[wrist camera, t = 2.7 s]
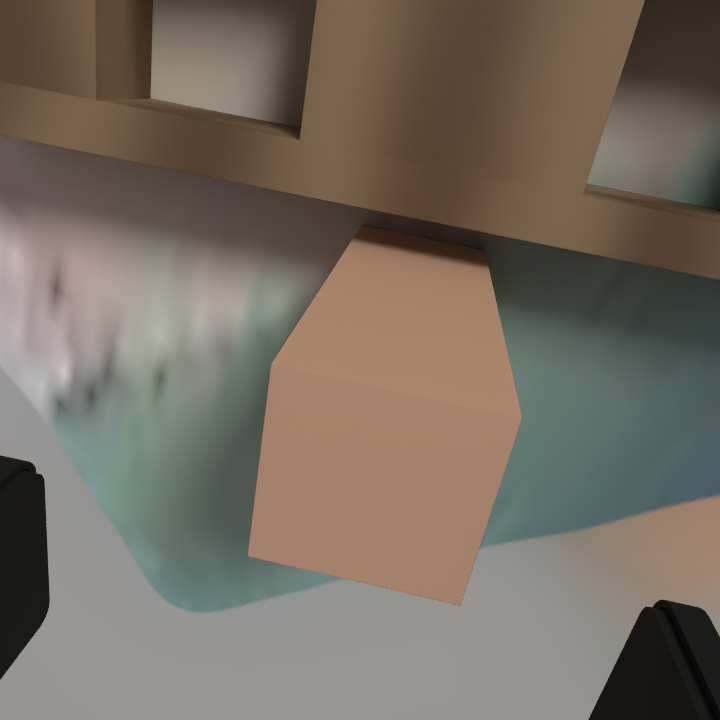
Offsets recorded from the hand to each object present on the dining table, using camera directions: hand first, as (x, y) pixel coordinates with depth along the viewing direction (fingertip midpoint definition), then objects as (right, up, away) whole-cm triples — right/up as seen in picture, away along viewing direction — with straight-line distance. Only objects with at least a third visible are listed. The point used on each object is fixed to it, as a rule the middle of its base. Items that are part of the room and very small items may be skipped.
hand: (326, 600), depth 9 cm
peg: (+2, +6, +13) cm, 14 cm away
